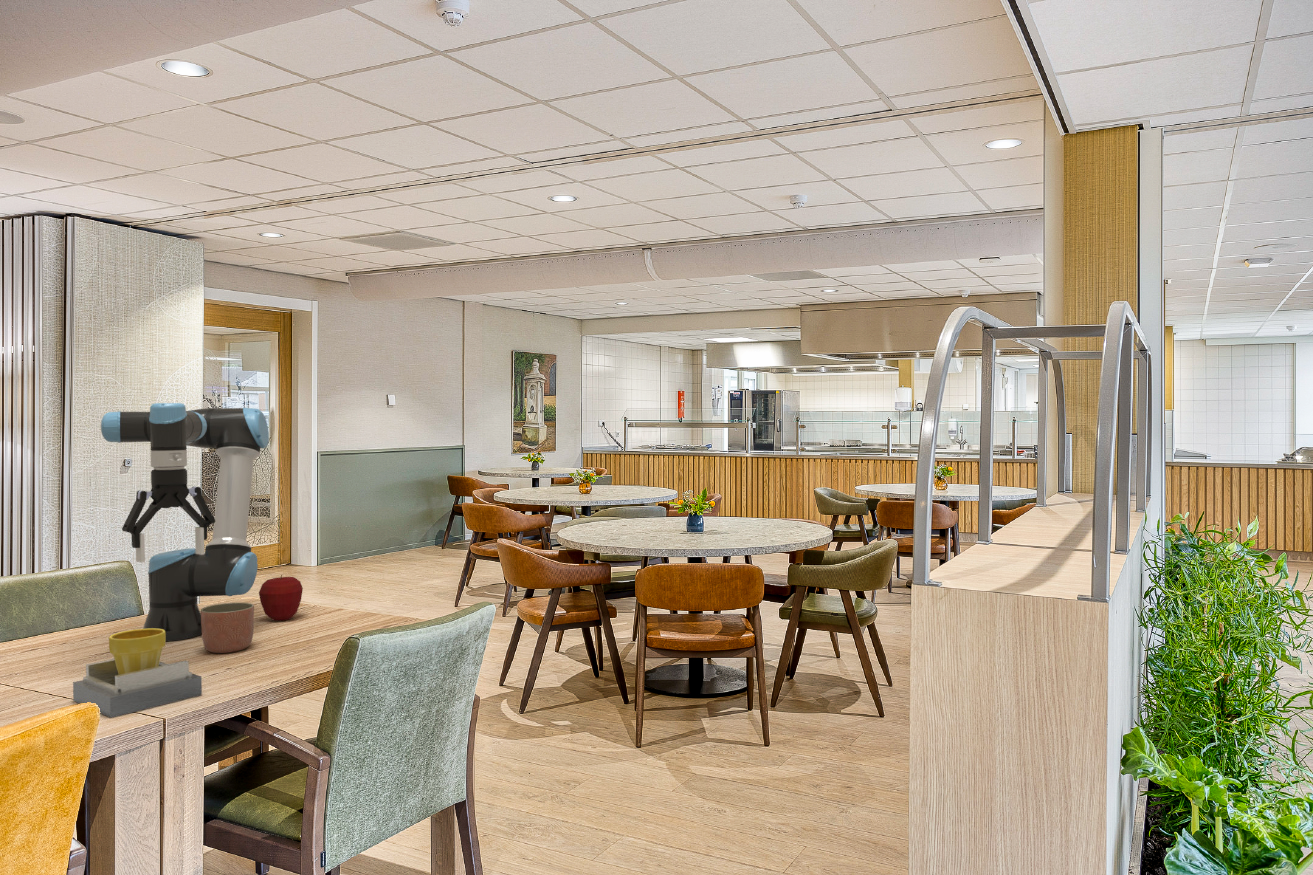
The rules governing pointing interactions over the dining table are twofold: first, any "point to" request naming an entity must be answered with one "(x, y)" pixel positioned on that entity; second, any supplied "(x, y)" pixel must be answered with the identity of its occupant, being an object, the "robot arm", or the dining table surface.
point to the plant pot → (137, 649)
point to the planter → (227, 627)
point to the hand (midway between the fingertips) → (171, 557)
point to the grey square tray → (135, 687)
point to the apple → (281, 597)
